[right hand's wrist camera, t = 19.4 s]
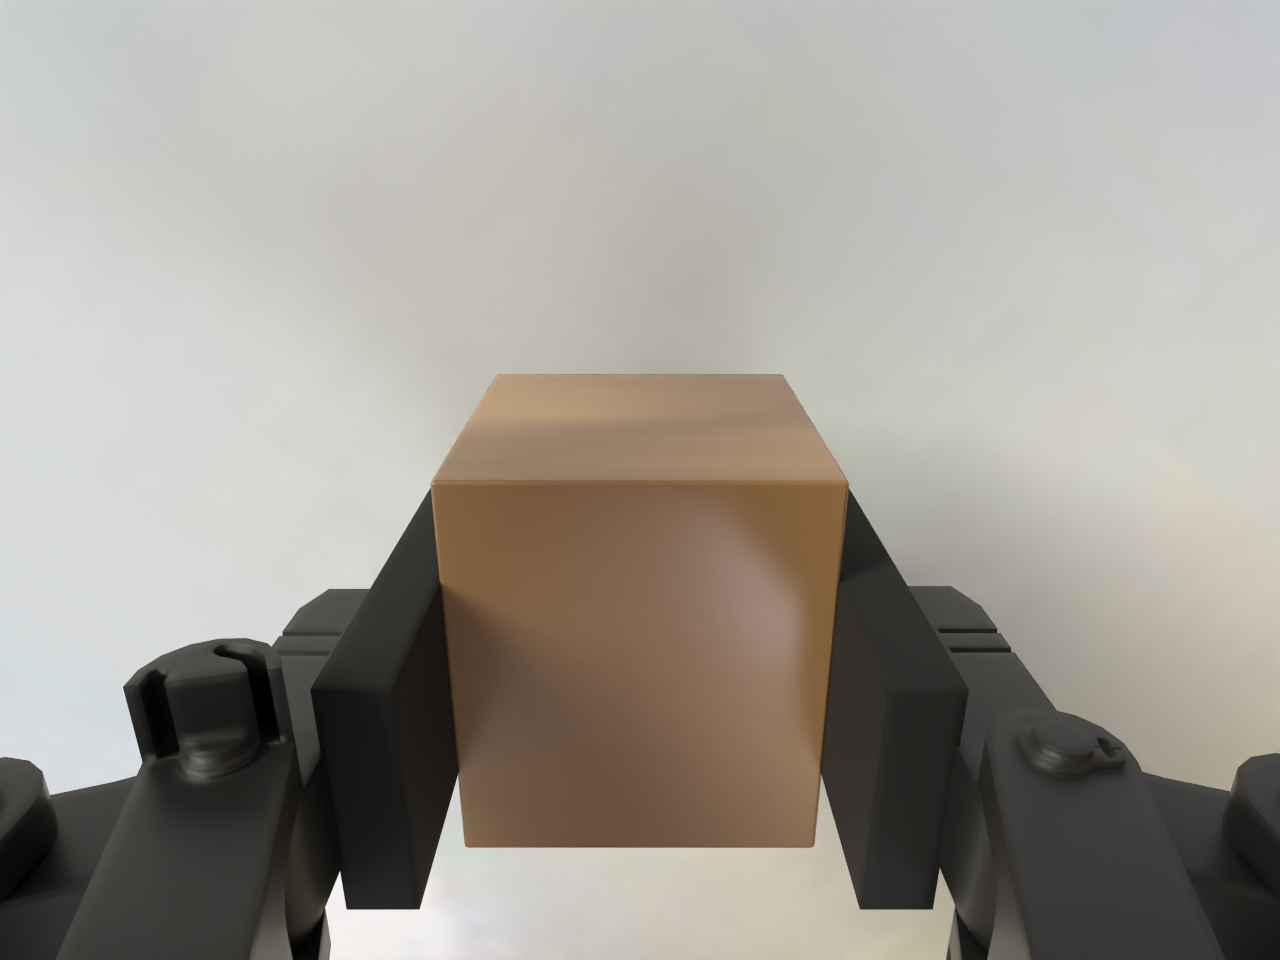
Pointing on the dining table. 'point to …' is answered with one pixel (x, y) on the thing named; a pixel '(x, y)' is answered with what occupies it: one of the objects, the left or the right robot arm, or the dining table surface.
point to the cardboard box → (639, 610)
